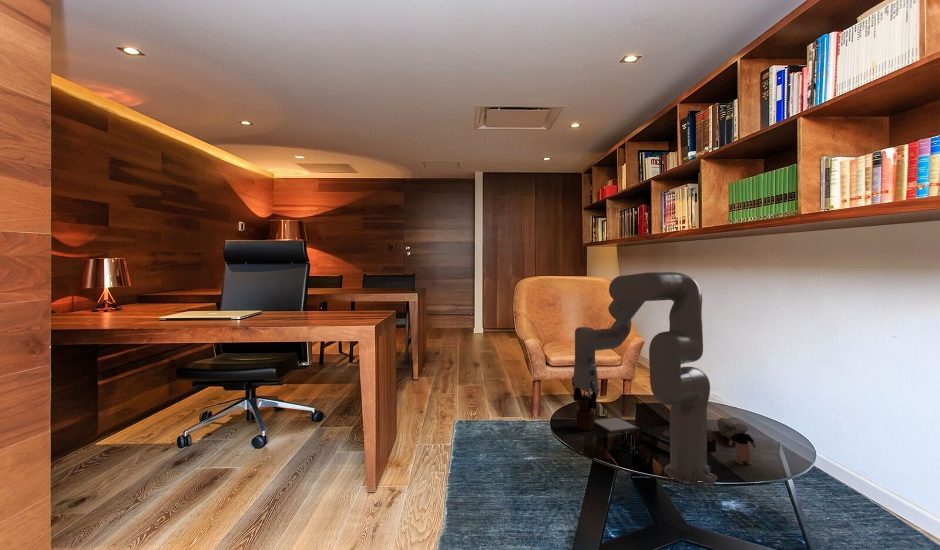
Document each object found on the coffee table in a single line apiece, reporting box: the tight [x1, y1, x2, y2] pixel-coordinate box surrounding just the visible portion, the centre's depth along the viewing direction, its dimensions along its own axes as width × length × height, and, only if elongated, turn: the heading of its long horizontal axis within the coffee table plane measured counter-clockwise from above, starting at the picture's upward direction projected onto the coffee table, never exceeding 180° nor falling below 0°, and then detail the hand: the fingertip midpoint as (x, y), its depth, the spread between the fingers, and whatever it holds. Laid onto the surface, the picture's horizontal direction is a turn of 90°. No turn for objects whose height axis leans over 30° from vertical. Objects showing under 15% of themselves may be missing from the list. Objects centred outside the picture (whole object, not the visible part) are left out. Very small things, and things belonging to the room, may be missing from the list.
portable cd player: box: [638, 424, 717, 456], centre depth 143 cm, size 16×17×4 cm
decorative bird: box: [716, 417, 739, 447], centre depth 148 cm, size 5×16×8 cm, turn 167°
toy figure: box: [728, 421, 757, 466], centre depth 129 cm, size 8×4×13 cm, turn 92°
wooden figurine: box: [575, 390, 596, 431], centre depth 158 cm, size 7×6×15 cm
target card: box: [594, 416, 641, 434], centre depth 162 cm, size 13×13×1 cm
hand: (584, 404), depth 159 cm, fingers open, 9 cm apart
